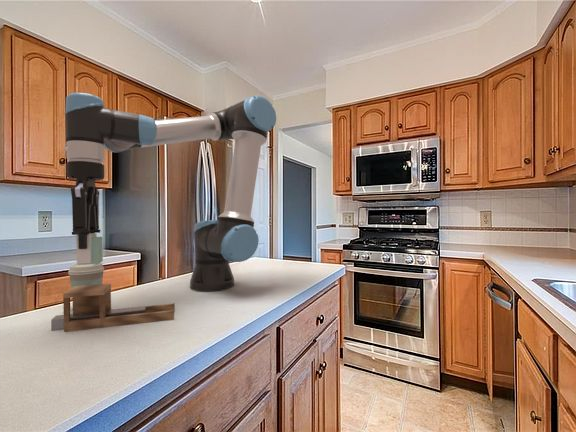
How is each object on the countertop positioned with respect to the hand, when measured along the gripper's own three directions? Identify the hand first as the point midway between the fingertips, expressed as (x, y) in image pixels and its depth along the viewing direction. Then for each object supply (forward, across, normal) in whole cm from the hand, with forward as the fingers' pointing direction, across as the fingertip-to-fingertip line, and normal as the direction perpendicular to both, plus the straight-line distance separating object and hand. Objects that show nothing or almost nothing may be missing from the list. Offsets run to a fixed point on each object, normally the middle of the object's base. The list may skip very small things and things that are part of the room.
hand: (87, 261), depth 74 cm
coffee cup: (+15, -15, -4) cm, 22 cm away
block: (0, 0, +1) cm, 1 cm away
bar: (+15, 0, +3) cm, 15 cm away
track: (+15, 0, +7) cm, 16 cm away
